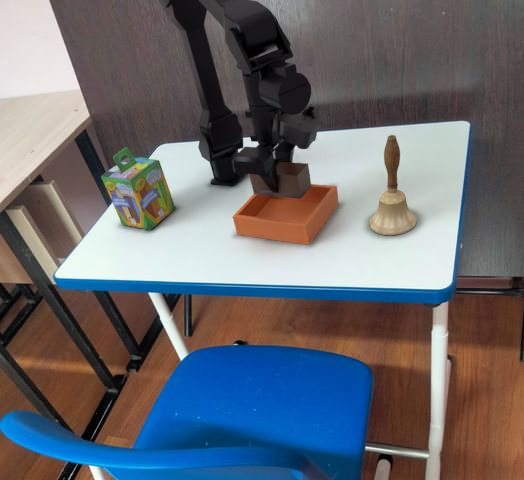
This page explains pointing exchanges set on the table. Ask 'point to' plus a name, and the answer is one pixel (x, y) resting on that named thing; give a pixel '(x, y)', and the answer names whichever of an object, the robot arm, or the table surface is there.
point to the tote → (287, 215)
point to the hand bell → (392, 198)
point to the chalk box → (138, 190)
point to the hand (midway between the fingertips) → (281, 185)
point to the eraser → (285, 181)
